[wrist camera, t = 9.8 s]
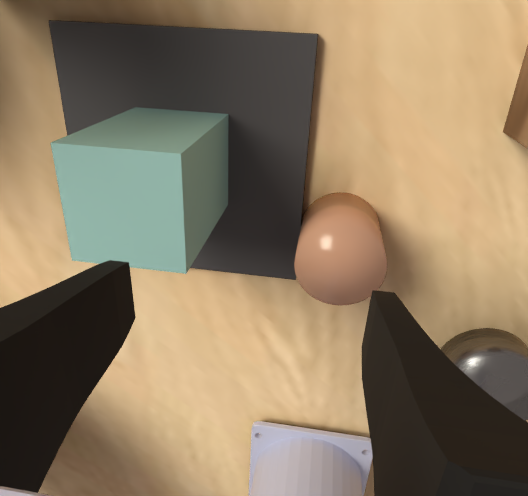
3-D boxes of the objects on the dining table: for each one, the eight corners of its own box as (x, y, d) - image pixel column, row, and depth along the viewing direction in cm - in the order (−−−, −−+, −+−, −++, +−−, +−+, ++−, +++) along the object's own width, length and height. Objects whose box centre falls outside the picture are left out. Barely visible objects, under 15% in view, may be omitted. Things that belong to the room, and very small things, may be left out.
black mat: (296, 275, 24) (295, 279, 24) (91, 251, 26) (87, 256, 25) (317, 33, 19) (317, 34, 18) (54, 20, 20) (48, 20, 20)
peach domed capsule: (372, 266, 23) (378, 310, 20) (298, 258, 24) (291, 299, 20) (385, 196, 22) (395, 230, 18) (304, 188, 22) (297, 220, 18)
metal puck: (514, 399, 26) (530, 434, 24) (427, 388, 27) (435, 421, 25) (541, 332, 24) (561, 364, 22) (445, 322, 24) (456, 352, 22)
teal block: (228, 204, 22) (186, 273, 16) (143, 196, 23) (72, 260, 17) (228, 113, 20) (180, 153, 14) (135, 107, 21) (50, 142, 15)
